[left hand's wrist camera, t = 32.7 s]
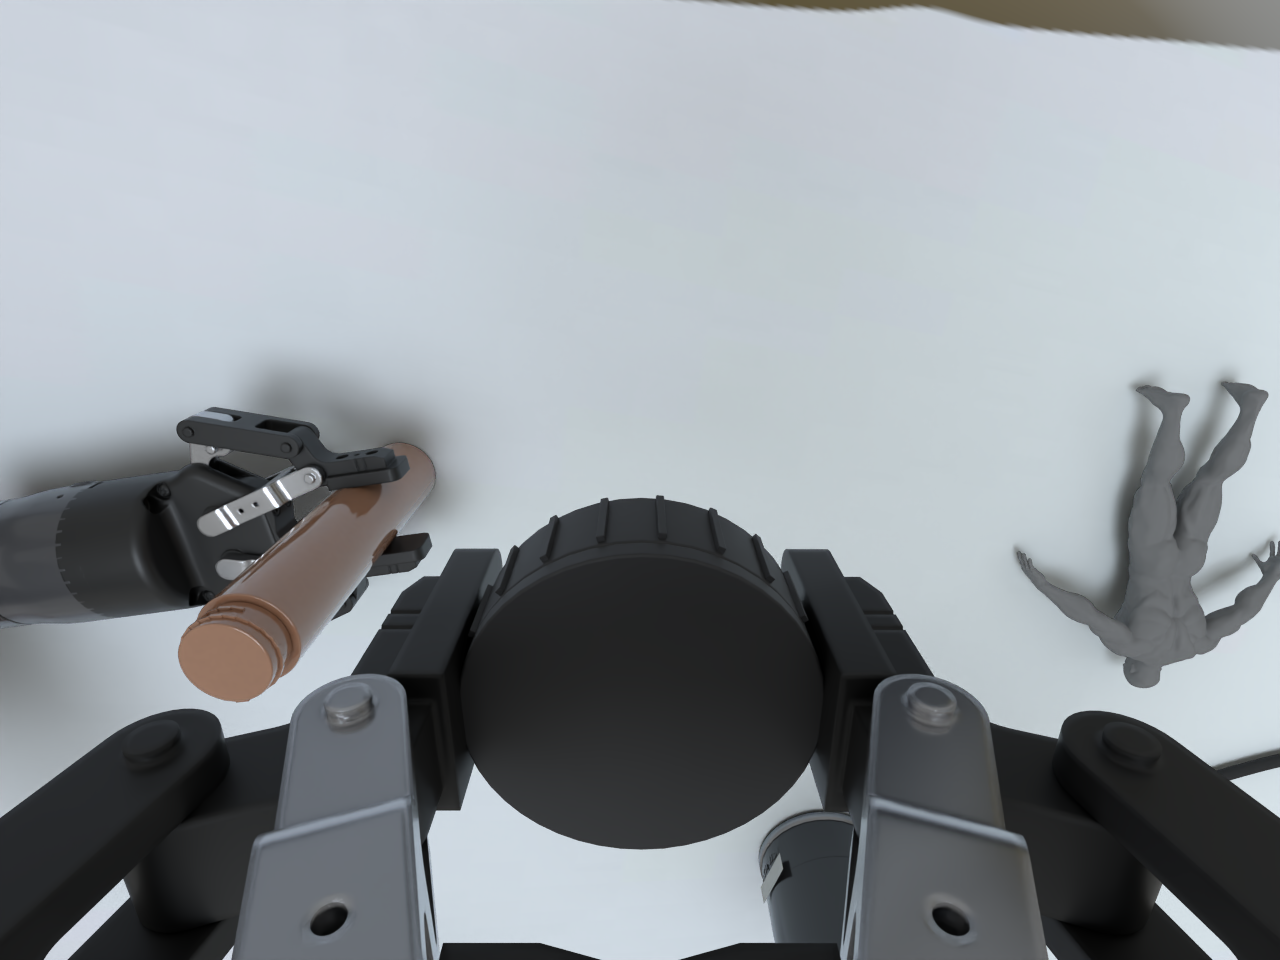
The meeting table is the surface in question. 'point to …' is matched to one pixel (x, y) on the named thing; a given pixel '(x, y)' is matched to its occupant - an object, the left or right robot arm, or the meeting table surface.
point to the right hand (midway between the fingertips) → (414, 507)
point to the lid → (641, 677)
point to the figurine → (1173, 551)
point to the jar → (298, 585)
